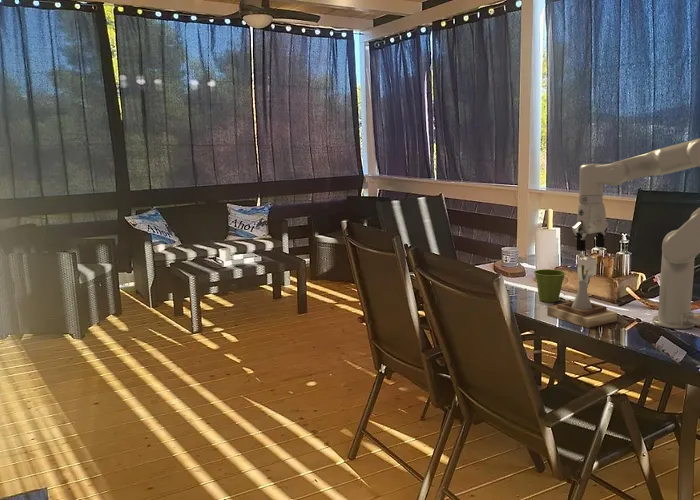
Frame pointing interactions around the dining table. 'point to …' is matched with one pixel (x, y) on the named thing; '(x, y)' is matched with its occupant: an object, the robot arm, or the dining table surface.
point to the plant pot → (549, 284)
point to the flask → (582, 297)
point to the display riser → (582, 314)
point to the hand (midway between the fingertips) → (590, 248)
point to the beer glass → (586, 268)
